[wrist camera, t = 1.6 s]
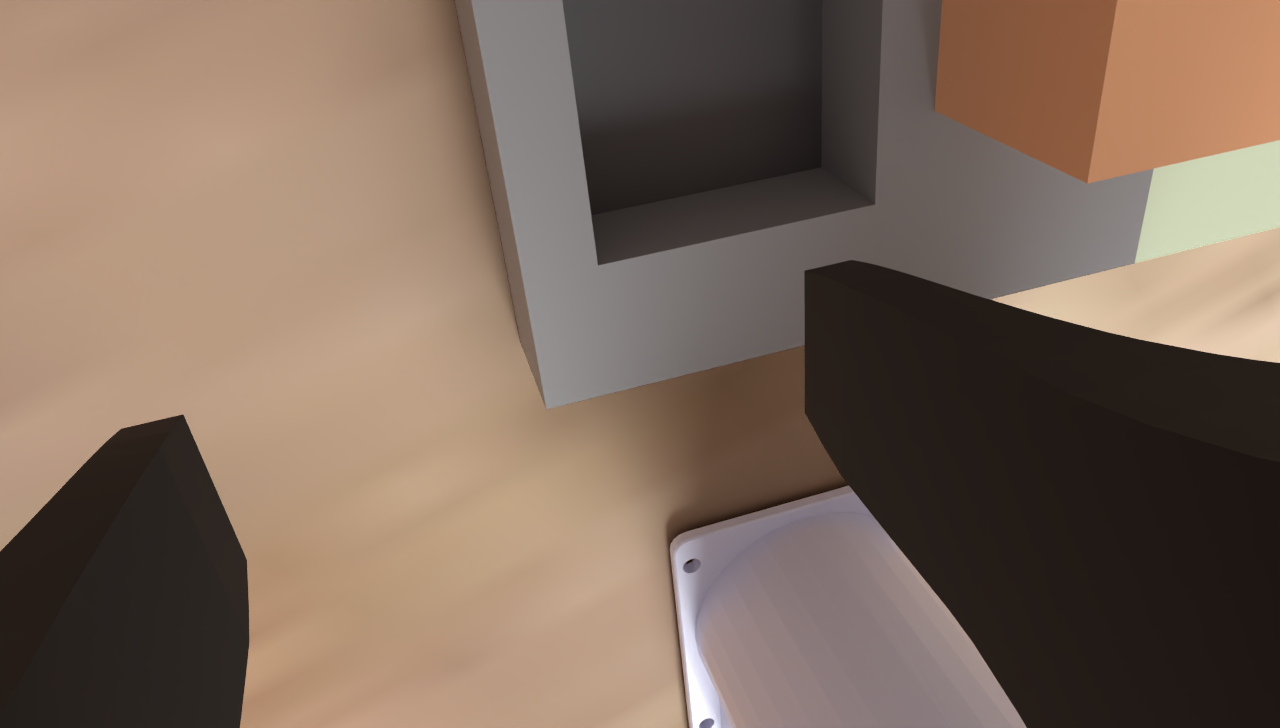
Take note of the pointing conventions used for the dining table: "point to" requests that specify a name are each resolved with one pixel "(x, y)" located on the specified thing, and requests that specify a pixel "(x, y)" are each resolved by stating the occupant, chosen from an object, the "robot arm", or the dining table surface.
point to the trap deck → (773, 179)
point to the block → (1112, 79)
